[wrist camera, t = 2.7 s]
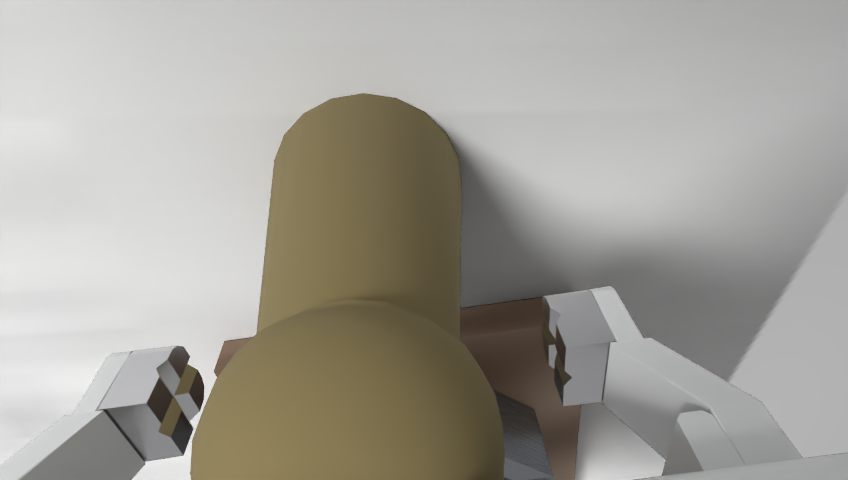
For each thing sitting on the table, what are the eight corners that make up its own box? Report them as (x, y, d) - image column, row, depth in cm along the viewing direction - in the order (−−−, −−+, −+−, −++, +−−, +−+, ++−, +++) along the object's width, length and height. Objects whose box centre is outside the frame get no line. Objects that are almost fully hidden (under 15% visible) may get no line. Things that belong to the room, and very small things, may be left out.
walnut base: (224, 341, 20) (213, 371, 19) (575, 292, 20) (588, 319, 18) (314, 512, 28) (311, 540, 27) (563, 479, 28) (571, 507, 26)
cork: (490, 126, 15) (636, 468, 6) (426, 273, 19) (465, 637, 10) (291, 66, 14) (122, 396, 5) (260, 237, 17) (124, 622, 8)
